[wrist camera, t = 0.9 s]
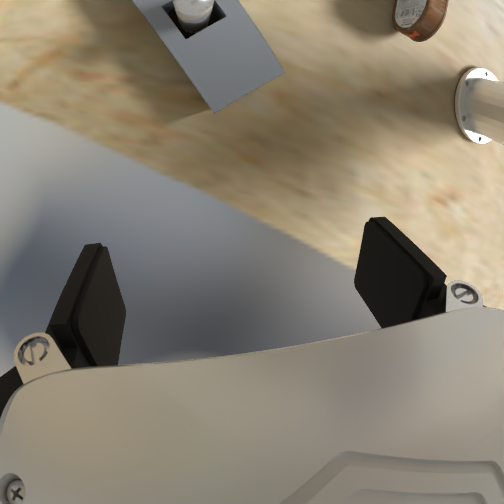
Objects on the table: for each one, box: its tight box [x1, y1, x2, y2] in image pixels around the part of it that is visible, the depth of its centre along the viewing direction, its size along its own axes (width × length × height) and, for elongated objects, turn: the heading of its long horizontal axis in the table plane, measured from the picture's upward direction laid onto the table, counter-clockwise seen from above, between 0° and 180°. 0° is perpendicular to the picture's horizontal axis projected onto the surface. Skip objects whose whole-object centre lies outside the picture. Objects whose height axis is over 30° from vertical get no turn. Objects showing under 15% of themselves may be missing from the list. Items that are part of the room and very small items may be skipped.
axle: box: [173, 0, 214, 33], centre depth 22 cm, size 3×3×11 cm
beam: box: [132, 0, 285, 114], centre depth 24 cm, size 8×20×5 cm, turn 31°
